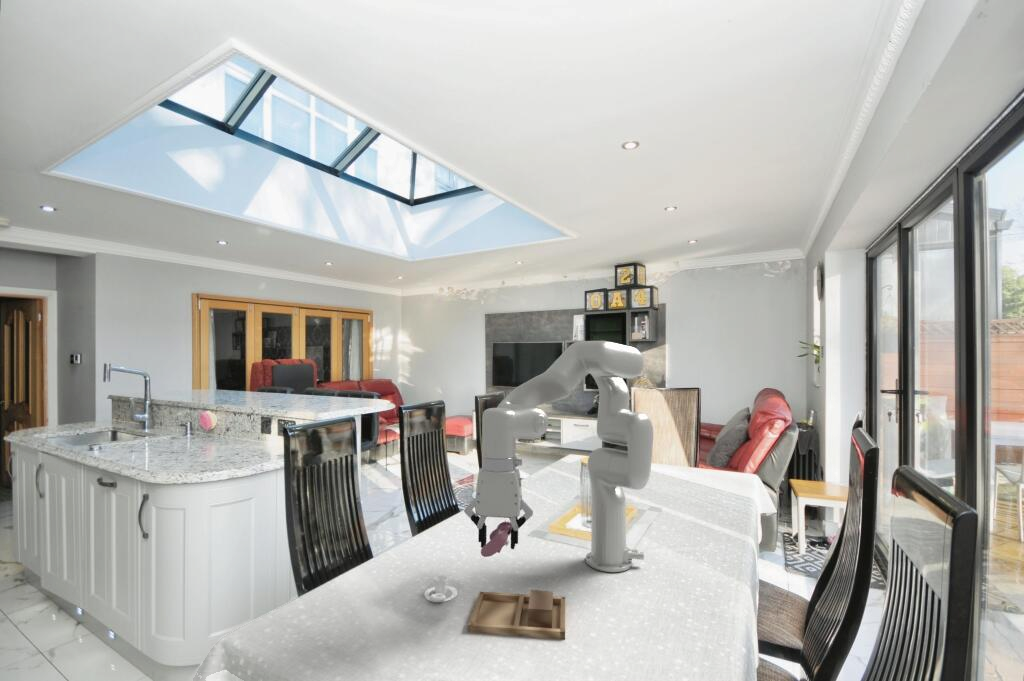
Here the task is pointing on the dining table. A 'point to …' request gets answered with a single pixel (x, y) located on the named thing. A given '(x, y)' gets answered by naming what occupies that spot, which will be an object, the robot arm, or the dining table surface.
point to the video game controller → (497, 539)
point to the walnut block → (540, 609)
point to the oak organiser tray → (513, 616)
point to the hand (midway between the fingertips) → (498, 545)
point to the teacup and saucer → (440, 590)
